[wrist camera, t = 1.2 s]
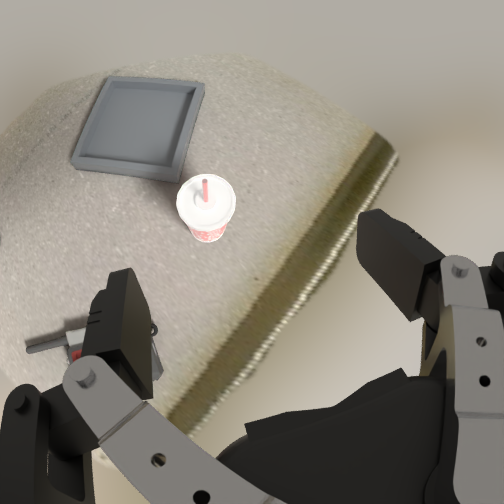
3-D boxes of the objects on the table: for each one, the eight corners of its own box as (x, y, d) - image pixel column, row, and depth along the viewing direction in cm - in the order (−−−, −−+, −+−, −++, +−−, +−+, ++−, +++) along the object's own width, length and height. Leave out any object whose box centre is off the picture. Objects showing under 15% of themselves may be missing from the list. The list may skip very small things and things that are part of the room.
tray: (76, 169, 40) (70, 162, 37) (112, 85, 43) (108, 76, 41) (178, 183, 41) (176, 175, 39) (204, 93, 44) (204, 83, 42)
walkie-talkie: (153, 307, 38) (29, 342, 35) (145, 306, 34) (12, 344, 30) (174, 373, 37) (48, 402, 33) (170, 380, 32) (33, 409, 29)
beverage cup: (186, 251, 40) (173, 219, 26) (181, 205, 41) (167, 155, 27) (234, 244, 40) (245, 209, 27) (227, 199, 41) (234, 147, 28)
